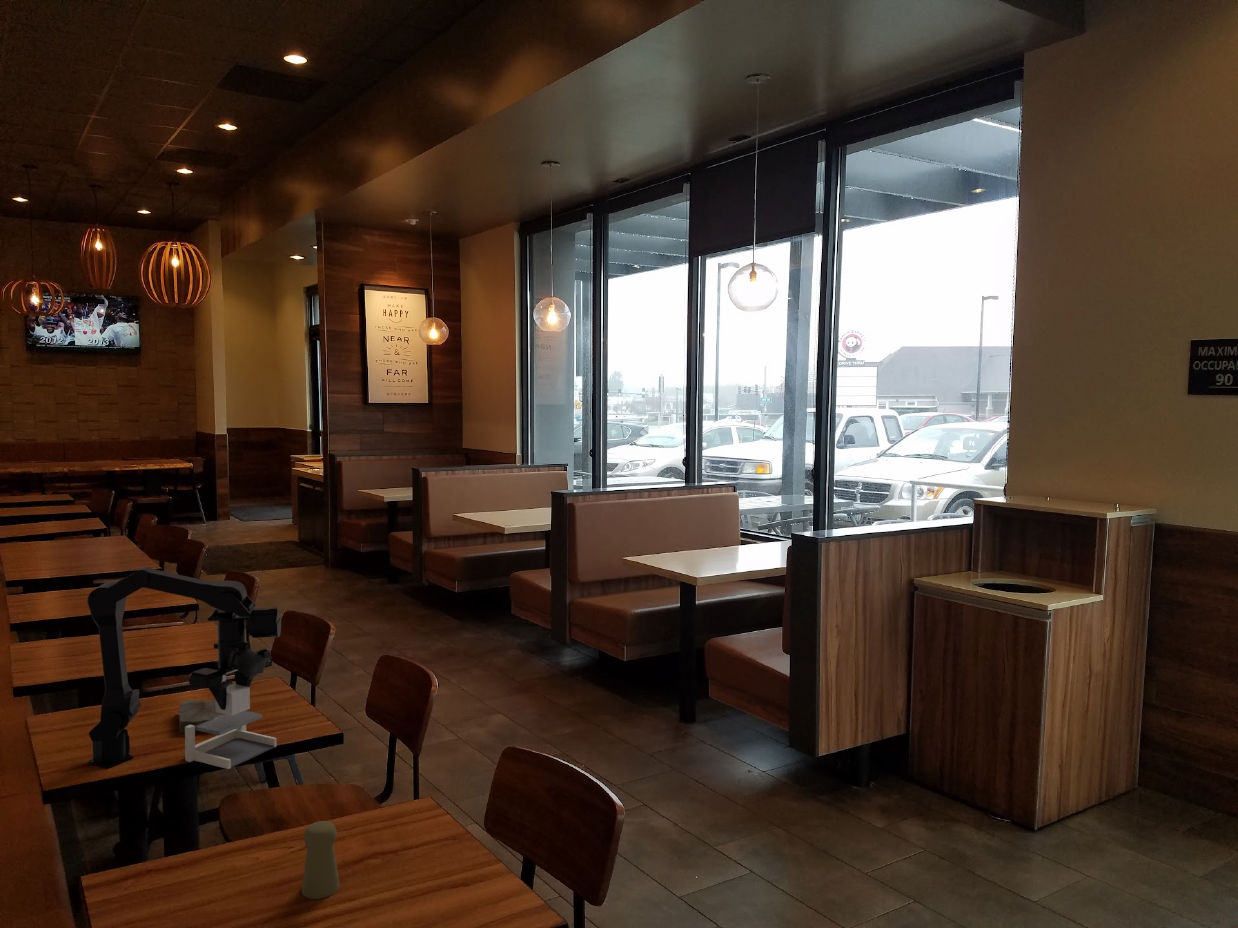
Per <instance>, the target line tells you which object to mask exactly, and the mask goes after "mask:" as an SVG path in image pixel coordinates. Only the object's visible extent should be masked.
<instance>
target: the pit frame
mask: <svg viewBox="0 0 1238 928" xmlns="http://www.w3.org/2000/svg"><path fill="white" fill-rule="evenodd" d="M245 711H247V710H245ZM277 739H278V738H277V737H273V736H269V735H264V734H260V733H256V732H252V731H247V724H246V725H243V726H241V727H239V728H236V729H234V730H232V731H229V732H227V733H225V734H222V735H220V736H219V735H215V736H214V737H211V738H209V739H207V740H204V741H202V742H199V743H197V744H196V732H195V726H194V725H188V726H186V727H185V732H184V743H185V744H184V747H185V748H184V757H185V762H189V763H191V762H193V761H195V762H199V763H203V764H208V765H211V766H214V767H218V768H223V769H226V770H229V769H232V768H235V767H237V766H238V765H241V764H243V763H245V762H247V761H249V760H252V759H254V758H255V757H257V756H260V755H262V754H264V753H266V752H268V751H270V750H272V749H274V748H276V747H277V745H278V743H277Z"/></svg>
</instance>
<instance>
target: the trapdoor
mask: <svg viewBox="0 0 1238 928" xmlns="http://www.w3.org/2000/svg"><path fill="white" fill-rule="evenodd" d="M262 718H263V714H262V713H257V712H253V711H248V710H246V711H243V712H240V713H238V714H235V715H233V716H232V715H227V714H223V715H221V716H218V717H216V718H213V719H211V720H208V721H206V722H203V723H201V724H199V725H196V726H195V730H198V731H200V732H202V733H207V734H212V735H215V736H218V735H219V736H220V735H222V734H225V733H227V732H229V731H232V730H234V729H237V728H239V727H241V726H243V725H246V726H247V724H250V723H253V722H255V721H257V720H259V719H262Z"/></svg>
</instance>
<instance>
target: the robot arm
mask: <svg viewBox="0 0 1238 928" xmlns="http://www.w3.org/2000/svg"><path fill="white" fill-rule="evenodd" d="M143 588H145V589H149V590H154V591H158V592H163V593H168V594H172V595H177V596H182V597H186V598H191V599H195V600H198V601H201V602H203V603H205V604H206V605H208V606H210V607H212V608H214V610H213V612H212V613H211V614H210V615H209V616H208V617H207V619H206V620H207V621H208V622H214V621H217V622H216V623H217V642H215V643H213V649H217V657H218V658H217V660H215V661H213V667H217V669H212V668H207V667H203V668H200V669H197V670H195V671H192V672H191V673H190V674H189V675H188V685H190V686H195V687H199V688H202V689H208V690H209V691H210V692H211V695H212V696H213V697H214V700H216V701H217V703H218V705H219V707H220V708H221V709H222V710H225V709H226V693H227V687H228V686H229V685H231V683H232V682H231V681H228V680H227V676H228V675H230V674H234V680H235V684H237V685H241V686H246V687H250V686H251V684H252V682H253V680H254V678H255V677H256V676H257V675H260V674H261V675H262V674H264V671H265V669H266V668H269V667H272V666H273V657H272V656H271V650H270V649H268V647H267V648H266V647H265V648H262V649H260V650H252V648H251V642H250V641H247V640H246V634H248V635H249V636H251V637H252V639H260V638H279V637H280V636H281V631H282V618H281V614H280V607H279V606H270V607H257V605H256V604H255V603H254V601H253V600H252V599H251V598H250V596H249V595H248V593H247V589H246V587H245V585H244V584H243V583H242V582H240V581H237V580H223V579H221V580H206V579H205V580H203V579H199V578H194V577H191V576H186V575H181V574H178V573H173V572H167V571H164V570H160V569H154V568H152V567H150V566H143V567H140V568H139V569H137V570H136V571H134V572H133V573H131V574H129V575H127V576H125V577H124V578H122V579H120V580H118V581H112V580H110V581H106V582H105V583H103V584H100V585H99V586H98V587H96V588H94V589H93V590H92V591H91V592H90V593H89V594H88V595H87V599H86V600H87V605H88V609H89V611H90V615H91V618H92V619H93V621H94V624H96V626H97V627H98V633H99V634H98V635H99V644H100V653H101V654H100V655H101V663H102V672H103V681H104V695H103V697H102V702H101V709H100V716H99V717H100V718H99V719H100V720H99V721H98V723H97V724H95V726H94V727H93V728H91V730H90V731H89V732H88V736H89V738H90V740H91V742H92V743H91V744H92V758H91V759H88V761H87V763H88V764H90V765H94V766H98V767H100V768H101V767H102V768H106V769H108V768H111V767H114V766H116V765H119V764H121V763H124V762H126V761H129V760H131V759H134V755H133V754H130V752H131V743H130V742H131V740H130V739H131V738H130V735H129V730H128V729H126V727H127V726H129V724H130V722H131V721H133V719H134V718H135V717H136V716H137V714H138V712H139V708H141V706H142V704H141V702H140V697H139V696H140V688H137V689H132V688H131V686H130V684H129V680H128V671H127V661H126V653H125V651H126V650H125V641H124V632H123V631H124V630H123V618H124V613H125V610H126V603H127V597H128V596H130V595H132V594H133V593H135V592H137V591H139V590H140V589H143Z"/></svg>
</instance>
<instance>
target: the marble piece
mask: <svg viewBox="0 0 1238 928" xmlns="http://www.w3.org/2000/svg"><path fill="white" fill-rule="evenodd" d="M178 708H179V710H178V715H177V716H178V718H179V723H178V725H179V731H180V733H181V734H183V733H185V727H186V726H188V725H194V726H196V725H199V724H201V723H203V722H206V721H208V720H211V719H213V718H216V717H218V716H221V715H223V713H218V712H216V699H214V700H213V699H212V700H211V699H210V700H202V699H186V700H182V701H181V703H179V707H178ZM197 732H201V731H198V730H195V733H197Z"/></svg>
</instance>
